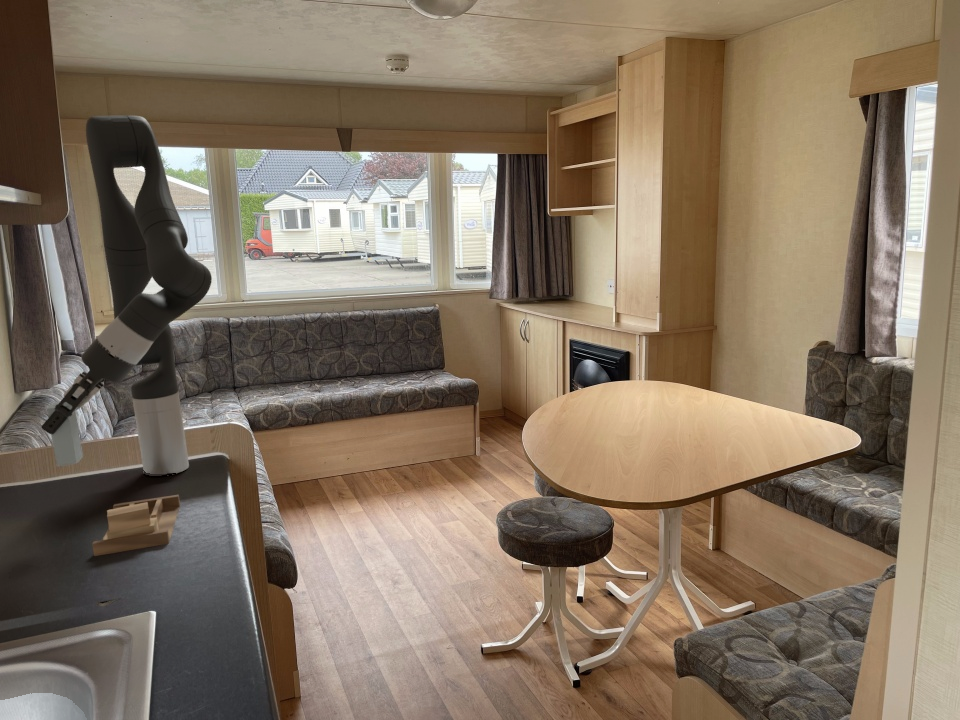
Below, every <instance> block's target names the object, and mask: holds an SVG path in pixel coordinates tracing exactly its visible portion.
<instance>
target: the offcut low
mask: <svg viewBox="0 0 960 720" xmlns="http://www.w3.org/2000/svg"><path fill="white" fill-rule="evenodd" d="M150 522H151V524H150V525H145V526H140V527H136V528H131V529H127V530H122V531H117V532H113V533H110V531H109V530H108V529H107V530H108V531H106V532H107V537H108V539H112V538H118V537H125V536H131V535H137V534H143V533H149V532H155V531H159V528H158V522H157V517H156V518H150Z"/></svg>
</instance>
